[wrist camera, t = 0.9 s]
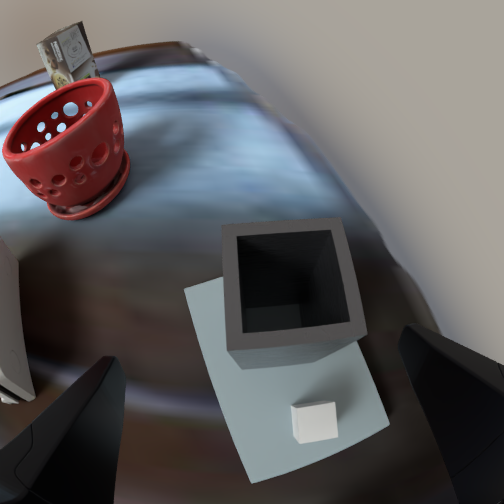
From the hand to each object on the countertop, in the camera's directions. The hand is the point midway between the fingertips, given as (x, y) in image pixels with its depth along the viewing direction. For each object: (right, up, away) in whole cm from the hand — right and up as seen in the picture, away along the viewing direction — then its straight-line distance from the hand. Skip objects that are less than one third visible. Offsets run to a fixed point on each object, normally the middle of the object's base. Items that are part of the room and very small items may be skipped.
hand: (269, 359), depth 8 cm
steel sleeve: (+1, -3, +12) cm, 13 cm away
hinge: (-26, -5, +14) cm, 30 cm away
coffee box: (-36, +36, +35) cm, 62 cm away
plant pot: (-19, +11, +22) cm, 31 cm away
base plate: (+2, -5, +13) cm, 14 cm away
